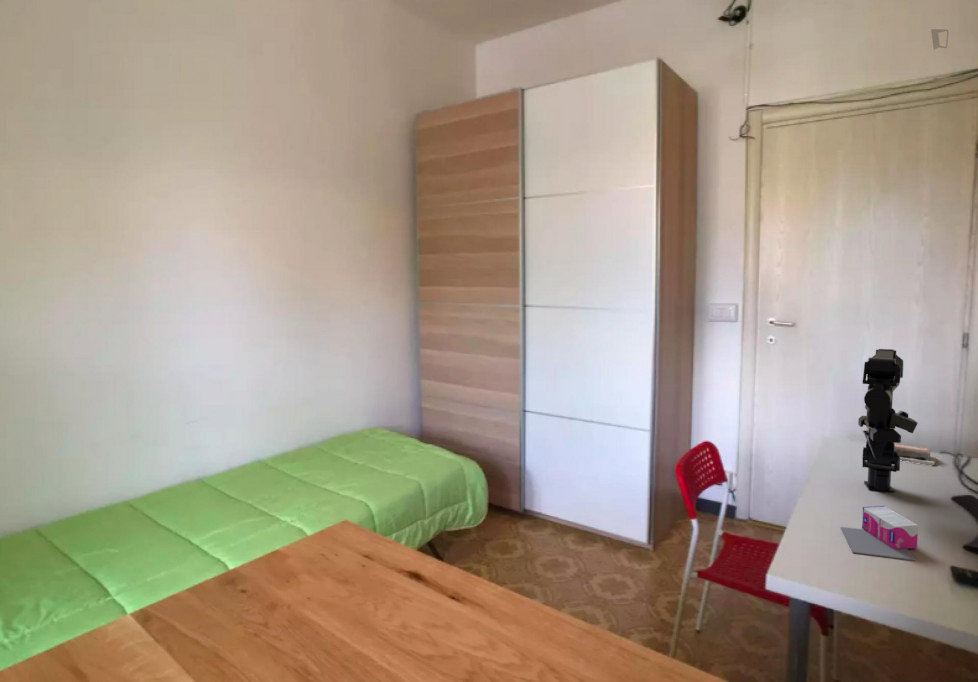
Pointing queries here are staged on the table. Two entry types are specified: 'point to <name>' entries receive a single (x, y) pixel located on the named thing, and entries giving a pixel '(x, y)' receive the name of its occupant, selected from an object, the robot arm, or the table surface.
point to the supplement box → (890, 527)
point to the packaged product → (915, 454)
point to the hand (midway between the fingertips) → (877, 458)
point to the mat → (872, 545)
